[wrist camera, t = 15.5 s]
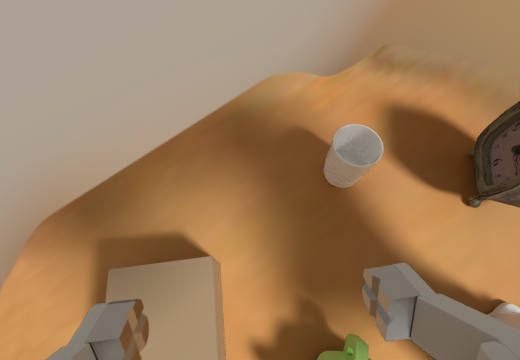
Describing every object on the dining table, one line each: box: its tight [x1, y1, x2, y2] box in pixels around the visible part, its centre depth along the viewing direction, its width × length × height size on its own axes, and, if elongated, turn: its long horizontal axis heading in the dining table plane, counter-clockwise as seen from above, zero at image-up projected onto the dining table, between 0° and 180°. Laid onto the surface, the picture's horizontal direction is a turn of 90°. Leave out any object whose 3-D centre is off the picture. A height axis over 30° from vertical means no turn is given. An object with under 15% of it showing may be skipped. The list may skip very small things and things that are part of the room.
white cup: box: [323, 124, 384, 188], centre depth 47 cm, size 8×8×10 cm
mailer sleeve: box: [105, 256, 226, 360], centre depth 37 cm, size 18×14×8 cm
